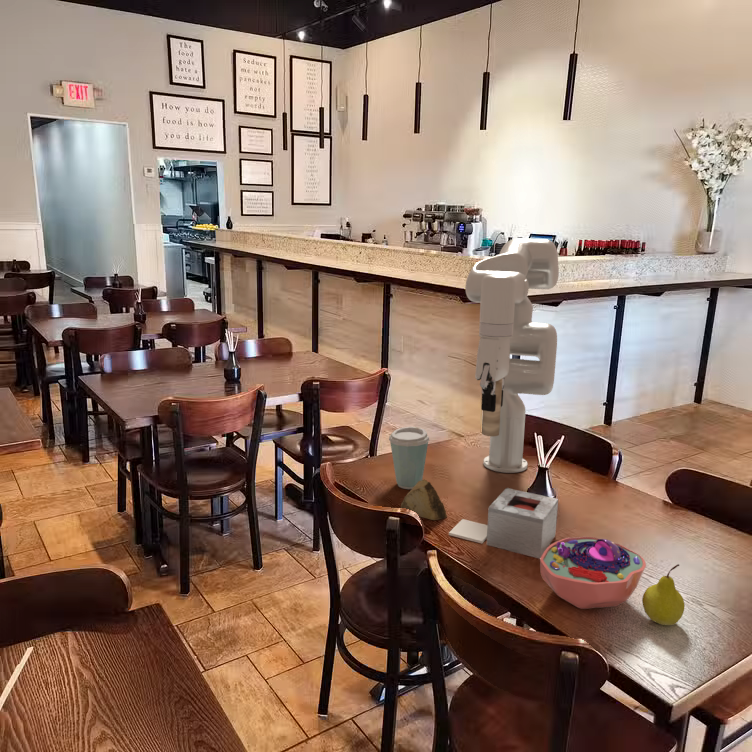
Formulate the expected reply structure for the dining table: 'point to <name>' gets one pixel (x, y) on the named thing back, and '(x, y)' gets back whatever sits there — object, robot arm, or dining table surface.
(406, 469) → the disposable coffee cup
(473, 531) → the mat
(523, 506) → the plunger
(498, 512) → the grey square box
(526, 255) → the robot arm
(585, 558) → the cell model
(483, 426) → the beige segmented cylinder
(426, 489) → the rock
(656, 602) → the fruit
